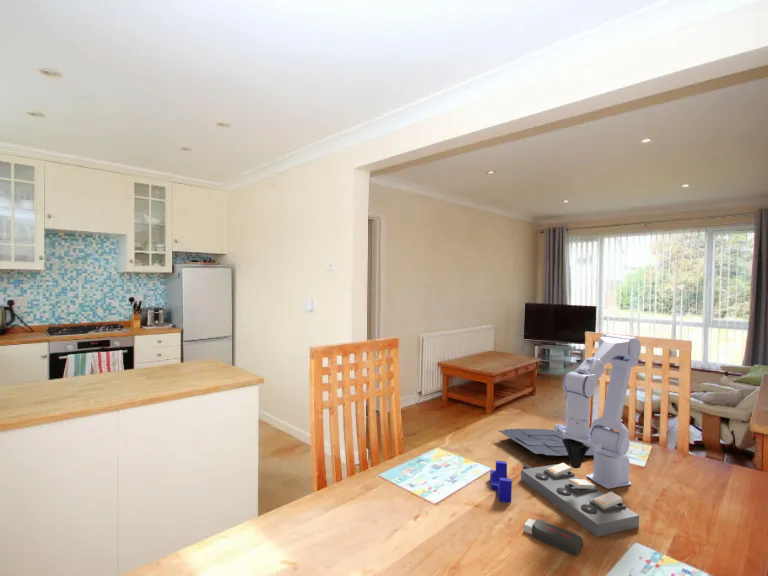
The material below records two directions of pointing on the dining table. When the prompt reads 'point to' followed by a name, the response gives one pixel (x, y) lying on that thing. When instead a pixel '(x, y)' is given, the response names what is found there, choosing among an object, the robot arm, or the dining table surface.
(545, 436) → the grey ridged plate
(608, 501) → the rocker
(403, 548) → the dining table surface
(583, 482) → the rocker middle
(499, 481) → the blue pipe cradle
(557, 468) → the rocker
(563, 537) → the usb drive
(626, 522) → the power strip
